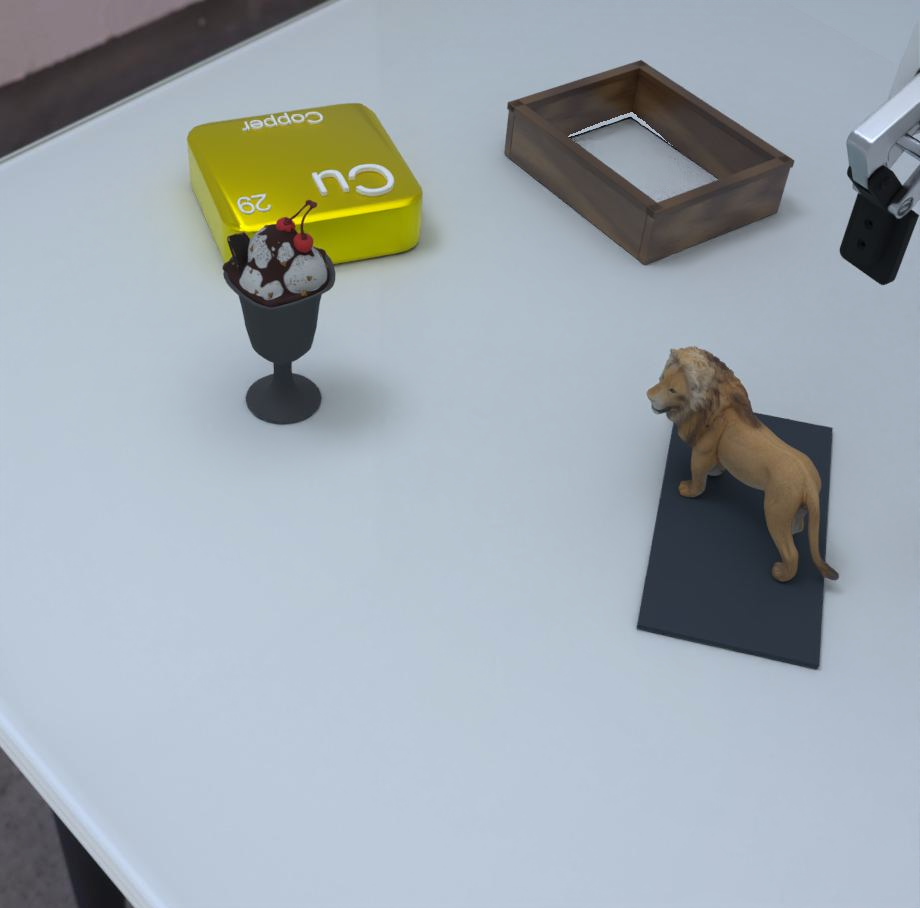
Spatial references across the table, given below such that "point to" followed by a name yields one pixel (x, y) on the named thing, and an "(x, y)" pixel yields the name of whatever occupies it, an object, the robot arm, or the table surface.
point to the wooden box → (613, 197)
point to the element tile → (308, 180)
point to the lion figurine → (740, 450)
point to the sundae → (280, 311)
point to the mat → (735, 560)
